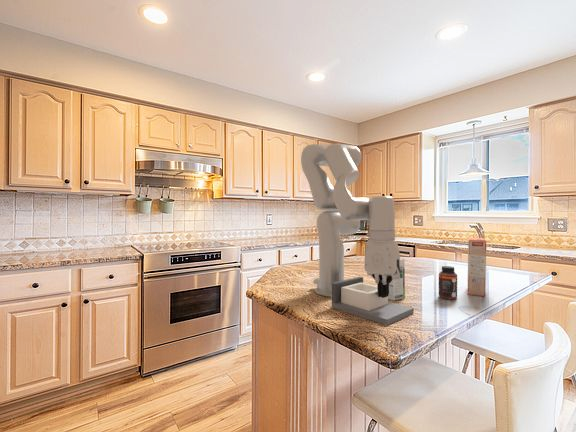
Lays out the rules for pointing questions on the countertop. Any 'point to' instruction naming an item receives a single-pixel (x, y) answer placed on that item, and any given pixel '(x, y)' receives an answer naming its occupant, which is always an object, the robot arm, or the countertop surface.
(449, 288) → the supplement bottle
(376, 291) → the socket block
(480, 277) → the cracker box
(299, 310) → the countertop surface
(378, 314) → the slide base
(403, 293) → the syrup box
